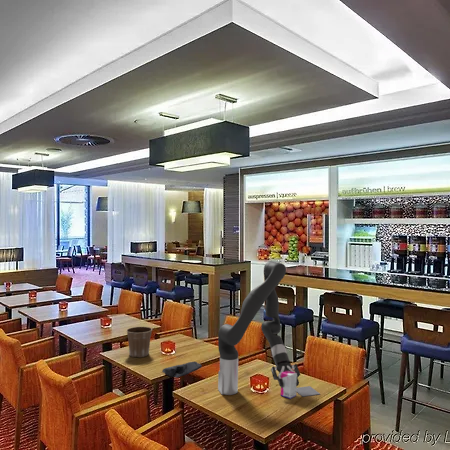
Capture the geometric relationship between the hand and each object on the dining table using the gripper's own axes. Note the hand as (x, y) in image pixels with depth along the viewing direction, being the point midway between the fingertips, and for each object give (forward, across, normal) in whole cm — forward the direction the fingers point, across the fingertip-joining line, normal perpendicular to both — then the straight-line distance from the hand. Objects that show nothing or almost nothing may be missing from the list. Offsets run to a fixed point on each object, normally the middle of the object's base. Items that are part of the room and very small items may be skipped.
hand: (290, 386), depth 199 cm
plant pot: (-56, -64, +64) cm, 106 cm away
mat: (+1, +11, +6) cm, 13 cm away
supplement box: (+3, 0, +5) cm, 6 cm away
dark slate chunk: (-31, -43, +39) cm, 66 cm away
